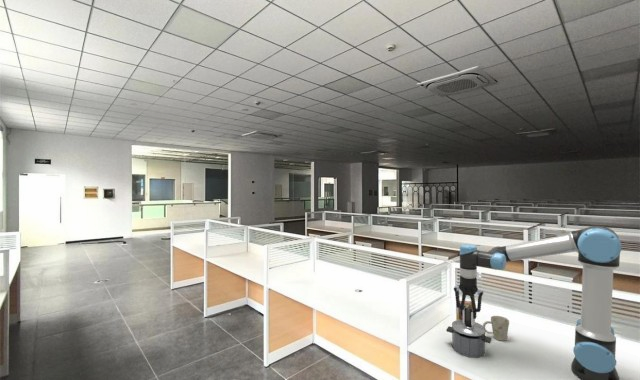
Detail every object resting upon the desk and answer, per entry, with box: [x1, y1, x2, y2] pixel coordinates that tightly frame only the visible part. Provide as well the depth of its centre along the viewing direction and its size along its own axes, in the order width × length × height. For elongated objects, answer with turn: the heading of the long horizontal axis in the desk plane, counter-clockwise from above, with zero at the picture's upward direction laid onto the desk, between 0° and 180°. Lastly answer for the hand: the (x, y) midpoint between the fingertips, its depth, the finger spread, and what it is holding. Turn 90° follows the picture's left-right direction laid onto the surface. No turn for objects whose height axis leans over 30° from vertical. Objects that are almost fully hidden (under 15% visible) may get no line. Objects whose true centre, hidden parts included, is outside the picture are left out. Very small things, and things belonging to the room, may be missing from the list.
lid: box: [451, 307, 487, 336], centre depth 148 cm, size 15×15×10 cm
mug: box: [482, 315, 510, 342], centre depth 159 cm, size 8×13×10 cm, turn 78°
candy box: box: [455, 300, 476, 322], centre depth 169 cm, size 9×4×15 cm, turn 85°
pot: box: [445, 325, 493, 359], centre depth 148 cm, size 20×14×9 cm
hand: (468, 323), depth 148 cm, fingers closed on lid, 3 cm apart
